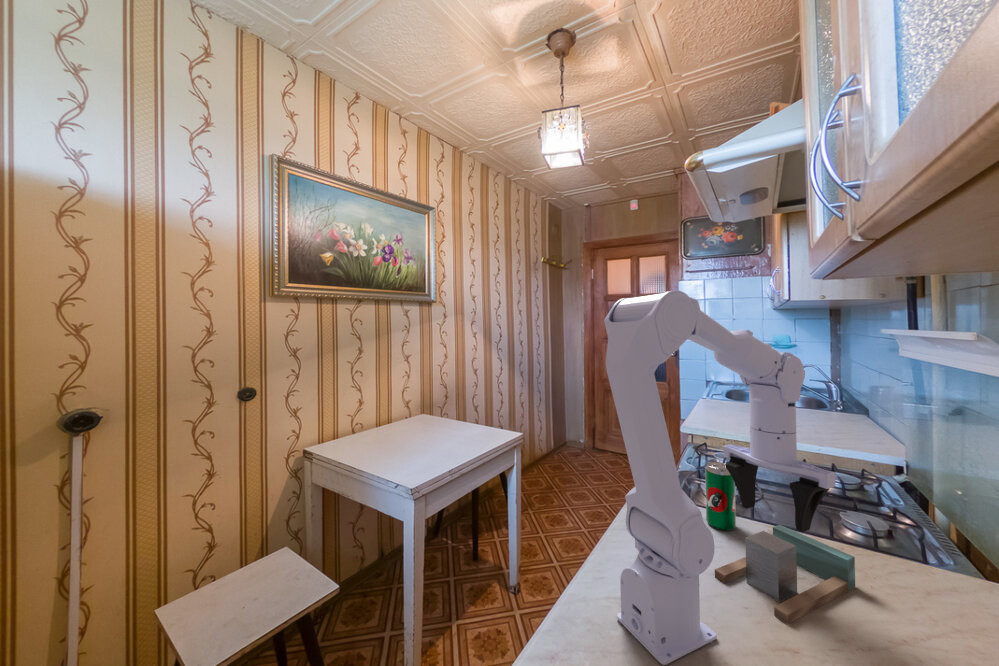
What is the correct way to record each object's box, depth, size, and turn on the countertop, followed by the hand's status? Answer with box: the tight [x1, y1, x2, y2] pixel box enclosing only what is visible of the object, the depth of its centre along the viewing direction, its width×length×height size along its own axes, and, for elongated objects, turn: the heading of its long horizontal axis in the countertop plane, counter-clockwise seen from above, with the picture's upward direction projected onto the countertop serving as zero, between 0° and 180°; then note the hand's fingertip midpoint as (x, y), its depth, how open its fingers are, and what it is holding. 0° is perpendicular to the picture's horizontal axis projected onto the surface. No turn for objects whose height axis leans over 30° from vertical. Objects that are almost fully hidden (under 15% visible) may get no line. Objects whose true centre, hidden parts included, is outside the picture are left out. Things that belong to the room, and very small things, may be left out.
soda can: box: [704, 461, 737, 532], centre depth 72 cm, size 5×5×12 cm
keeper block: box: [744, 530, 798, 603], centre depth 54 cm, size 4×4×7 cm
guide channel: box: [714, 524, 856, 625], centre depth 55 cm, size 17×10×4 cm, turn 113°
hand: (774, 517), depth 55 cm, fingers open, 7 cm apart
